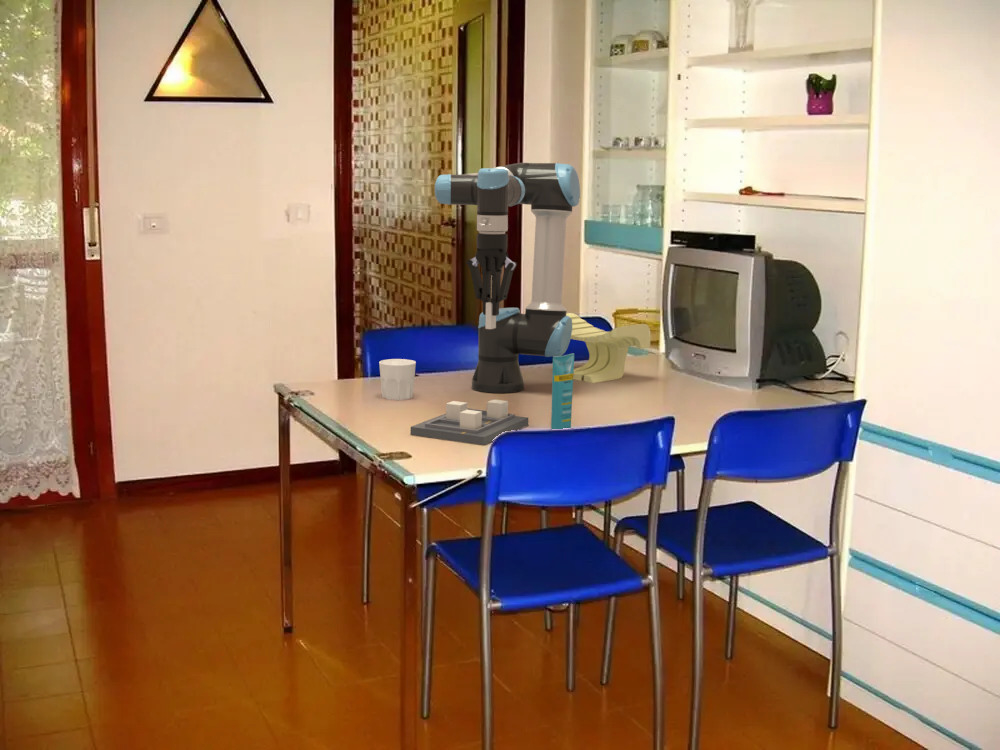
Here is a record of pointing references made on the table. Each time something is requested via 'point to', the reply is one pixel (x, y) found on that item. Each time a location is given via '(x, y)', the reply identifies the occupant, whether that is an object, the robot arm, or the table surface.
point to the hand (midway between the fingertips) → (490, 328)
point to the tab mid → (455, 409)
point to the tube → (562, 391)
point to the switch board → (453, 432)
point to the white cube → (471, 419)
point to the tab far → (497, 408)
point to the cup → (397, 378)
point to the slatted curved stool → (606, 348)
